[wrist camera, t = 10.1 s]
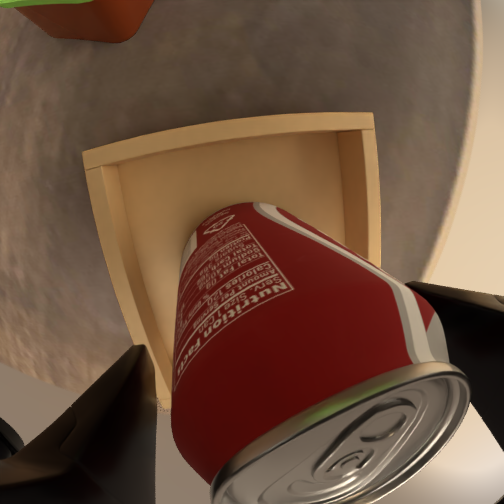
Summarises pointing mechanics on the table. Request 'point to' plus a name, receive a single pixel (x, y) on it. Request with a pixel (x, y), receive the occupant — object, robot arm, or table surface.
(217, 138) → the tray
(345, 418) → the soda can
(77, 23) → the planter
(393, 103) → the table surface
